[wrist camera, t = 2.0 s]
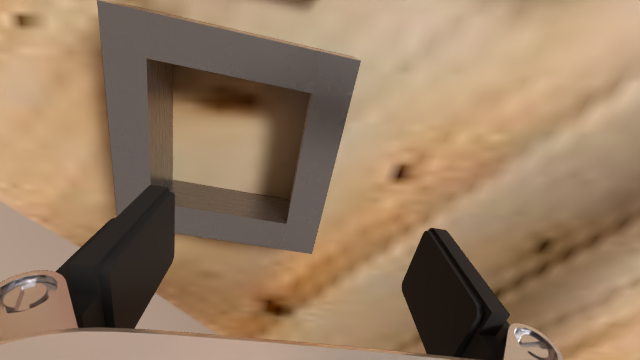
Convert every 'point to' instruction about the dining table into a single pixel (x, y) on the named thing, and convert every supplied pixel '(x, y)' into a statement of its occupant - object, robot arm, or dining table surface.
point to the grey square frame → (157, 121)
